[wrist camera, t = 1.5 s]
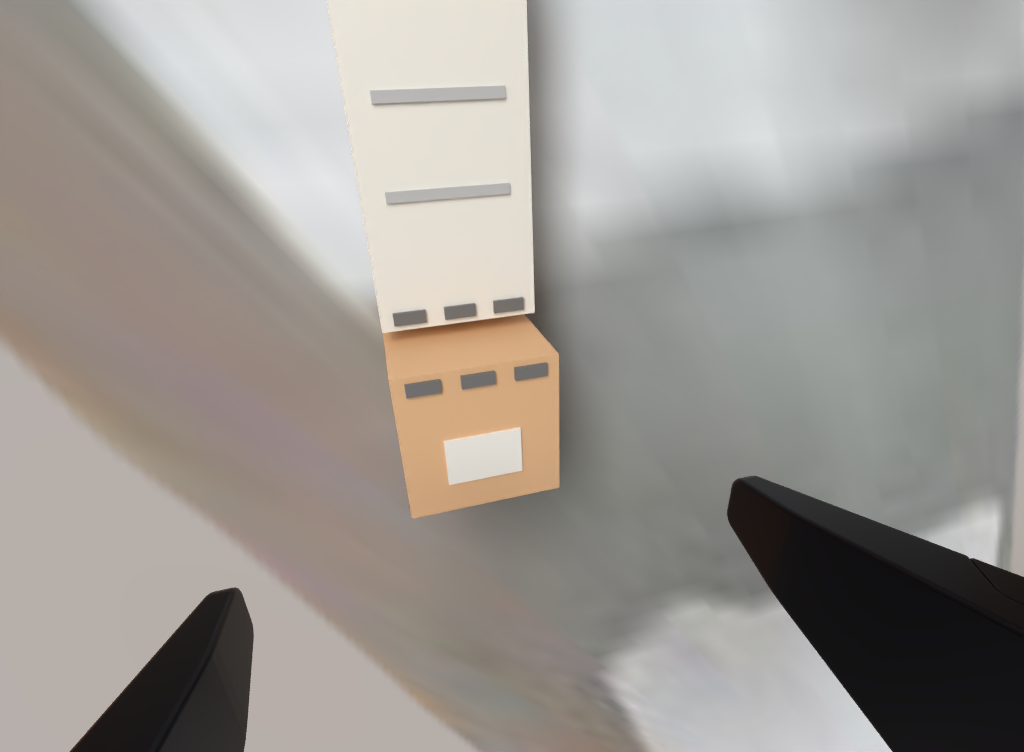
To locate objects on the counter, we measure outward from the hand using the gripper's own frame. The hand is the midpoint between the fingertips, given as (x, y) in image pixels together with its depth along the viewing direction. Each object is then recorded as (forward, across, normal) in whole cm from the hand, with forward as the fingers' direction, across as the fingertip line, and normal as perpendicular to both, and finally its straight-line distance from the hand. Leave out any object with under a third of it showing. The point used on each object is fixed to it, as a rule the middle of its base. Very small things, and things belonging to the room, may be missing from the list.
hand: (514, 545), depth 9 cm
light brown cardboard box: (+13, -1, +2) cm, 13 cm away
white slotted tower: (+12, -1, -7) cm, 14 cm away
